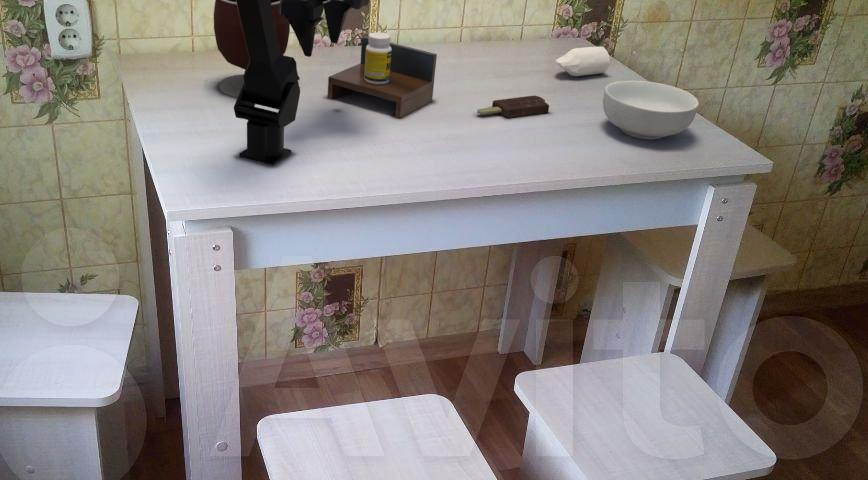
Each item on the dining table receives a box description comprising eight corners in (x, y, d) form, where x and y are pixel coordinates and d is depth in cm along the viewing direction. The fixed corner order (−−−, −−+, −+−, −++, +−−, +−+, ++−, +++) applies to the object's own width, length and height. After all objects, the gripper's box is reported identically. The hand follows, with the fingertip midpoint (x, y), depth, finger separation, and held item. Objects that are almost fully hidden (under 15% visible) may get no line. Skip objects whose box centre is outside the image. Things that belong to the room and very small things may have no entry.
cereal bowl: (705, 149, 175) (715, 111, 171) (617, 150, 173) (625, 111, 169) (666, 115, 189) (675, 78, 185) (584, 115, 186) (591, 78, 182)
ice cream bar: (485, 121, 180) (551, 112, 186) (486, 112, 179) (553, 104, 185) (469, 111, 184) (535, 103, 190) (471, 102, 183) (537, 94, 189)
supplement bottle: (389, 85, 181) (392, 40, 176) (363, 84, 181) (366, 38, 176) (389, 77, 185) (392, 32, 180) (364, 75, 185) (366, 30, 180)
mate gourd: (261, 106, 180) (261, -7, 168) (200, 89, 185) (196, -22, 174) (307, 84, 191) (310, -23, 180) (248, 69, 196) (248, -37, 185)
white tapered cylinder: (544, 73, 205) (548, 47, 202) (589, 68, 210) (594, 41, 207) (562, 83, 201) (566, 55, 198) (607, 77, 206) (612, 50, 203)
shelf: (399, 118, 179) (403, 69, 174) (327, 97, 186) (329, 49, 181) (432, 101, 187) (437, 54, 182) (362, 81, 194) (364, 35, 189)
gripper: (341, -29, 149) (337, 73, 158) (394, -50, 163) (387, 45, 172) (278, -41, 153) (277, 59, 161) (335, -60, 167) (331, 33, 176)
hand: (321, 49), depth 167 cm, fingers open, 9 cm apart
